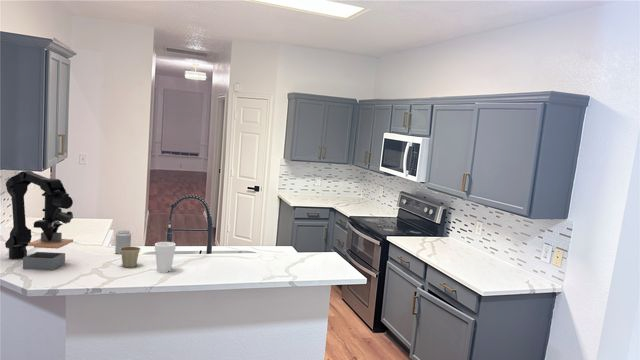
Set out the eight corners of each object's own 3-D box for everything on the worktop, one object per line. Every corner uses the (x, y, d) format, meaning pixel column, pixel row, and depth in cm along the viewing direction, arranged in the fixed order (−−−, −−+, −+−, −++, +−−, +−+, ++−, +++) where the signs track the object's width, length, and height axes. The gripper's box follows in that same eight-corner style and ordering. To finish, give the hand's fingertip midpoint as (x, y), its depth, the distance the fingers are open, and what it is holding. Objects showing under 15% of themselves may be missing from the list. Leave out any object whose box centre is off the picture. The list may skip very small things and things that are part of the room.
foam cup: (178, 269, 220) (179, 243, 219) (166, 274, 211) (167, 247, 210) (162, 266, 223) (163, 241, 222) (149, 271, 214) (150, 244, 213)
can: (124, 255, 239) (125, 233, 238) (112, 253, 241) (112, 231, 240) (133, 252, 247) (134, 230, 246) (121, 250, 248) (121, 229, 247)
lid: (27, 248, 202) (28, 234, 202) (42, 242, 214) (43, 229, 214) (59, 249, 203) (60, 236, 203) (73, 243, 215) (73, 231, 215)
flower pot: (143, 266, 221) (144, 249, 220) (124, 269, 214) (124, 251, 213) (134, 262, 227) (135, 245, 227) (115, 265, 220) (116, 247, 220)
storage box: (22, 270, 203) (23, 257, 202) (36, 264, 213) (36, 251, 213) (52, 272, 203) (53, 259, 203) (64, 265, 214) (65, 253, 214)
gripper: (59, 210, 198) (58, 245, 200) (79, 204, 217) (78, 236, 218) (33, 208, 198) (32, 243, 199) (55, 203, 216) (55, 235, 218)
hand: (51, 239), depth 208 cm, fingers closed on lid, 2 cm apart
